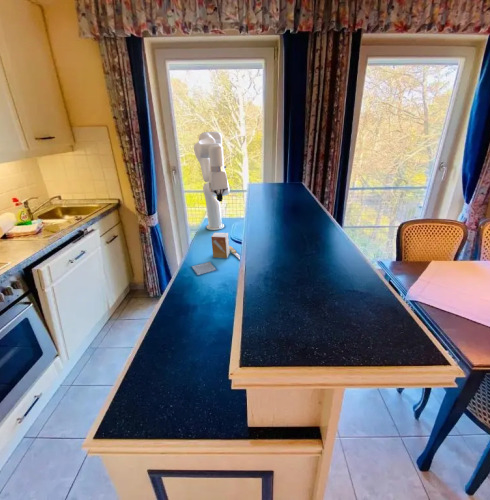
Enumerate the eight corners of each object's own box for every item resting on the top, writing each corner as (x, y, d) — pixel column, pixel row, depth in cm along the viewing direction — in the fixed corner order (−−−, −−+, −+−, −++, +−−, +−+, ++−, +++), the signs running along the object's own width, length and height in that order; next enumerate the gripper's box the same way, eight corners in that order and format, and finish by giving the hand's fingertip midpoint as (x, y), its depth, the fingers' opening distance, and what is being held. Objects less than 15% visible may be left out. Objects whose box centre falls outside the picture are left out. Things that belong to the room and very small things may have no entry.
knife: (227, 249, 166) (227, 246, 165) (230, 248, 167) (230, 245, 166) (239, 260, 152) (239, 258, 152) (243, 259, 153) (243, 257, 153)
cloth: (191, 267, 148) (191, 266, 148) (209, 262, 152) (209, 261, 152) (197, 275, 140) (197, 274, 140) (216, 270, 144) (216, 269, 144)
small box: (213, 258, 156) (210, 236, 151) (216, 252, 162) (214, 232, 156) (227, 258, 155) (225, 237, 149) (229, 253, 161) (228, 232, 155)
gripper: (227, 166, 161) (229, 197, 169) (202, 169, 155) (205, 201, 164) (232, 168, 155) (234, 200, 163) (206, 171, 149) (209, 204, 158)
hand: (219, 200), depth 164 cm, fingers closed
